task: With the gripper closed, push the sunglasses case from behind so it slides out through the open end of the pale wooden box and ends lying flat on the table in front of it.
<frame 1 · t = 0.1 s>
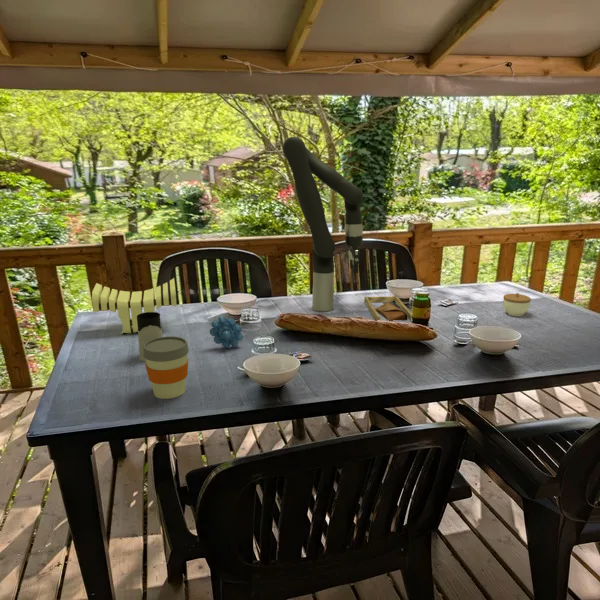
hand: (354, 270, 217), 17 cm above the table, tool pointing down, fingers open, 8 cm apart
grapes: (227, 349, 176), on the table
open-ended wooden box: (387, 311, 216), on the table
sunglasses case: (389, 316, 213), on the table
slatted curved stool: (139, 328, 197), on the table
glass holder: (151, 354, 172), on the table
reusable coffee cup: (169, 392, 144), on the table
lidded jar: (514, 314, 213), on the table
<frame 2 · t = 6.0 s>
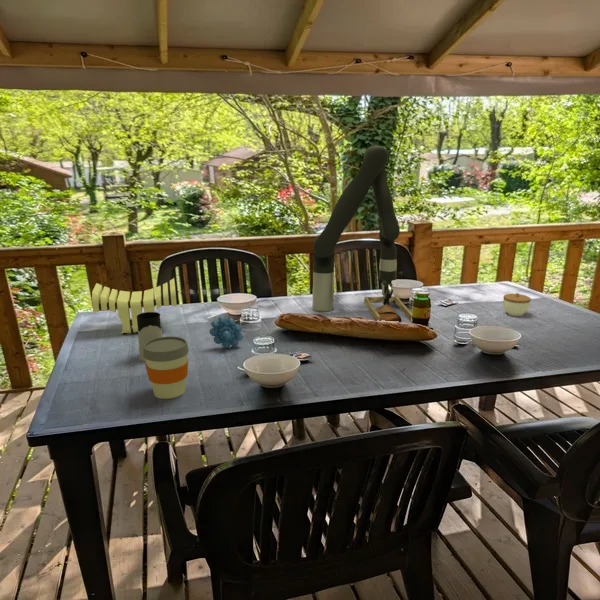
hand: (386, 306, 220), 1 cm above the table, tool pointing down, fingers closed
sunglasses case: (385, 318, 211), on the table, touching gripper
everything else where it was.
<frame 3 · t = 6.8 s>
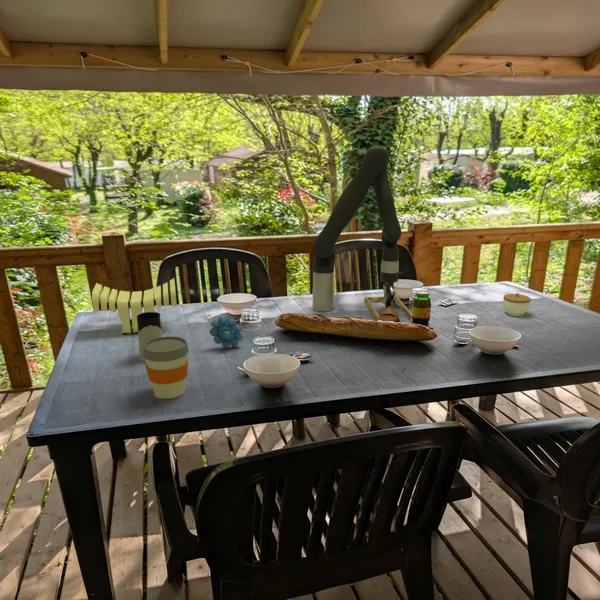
hand: (388, 308, 217), 1 cm above the table, tool pointing down, fingers closed
sunglasses case: (387, 320, 208), on the table, touching gripper
everything else where it was.
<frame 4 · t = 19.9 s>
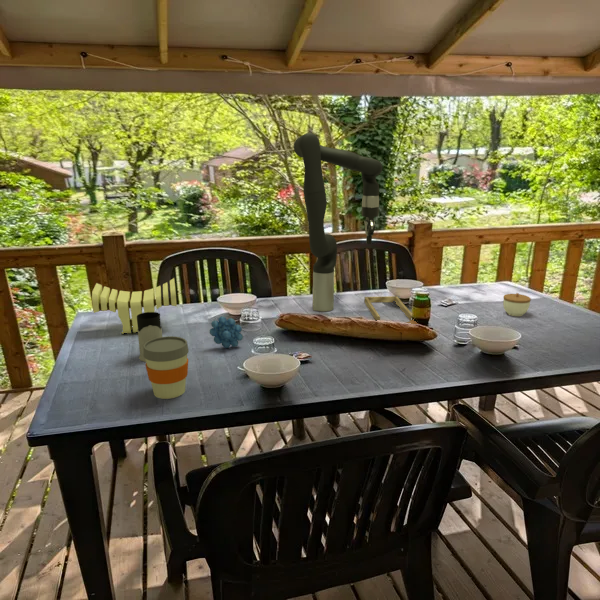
hand: (368, 243, 226), 27 cm above the table, tool pointing down, fingers closed
sunglasses case: (409, 335, 190), on the table
everything else where it was.
at the end: sunglasses case inside the target area (5.6 cm from its centre), on the table; sunglasses case tilted 0° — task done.
